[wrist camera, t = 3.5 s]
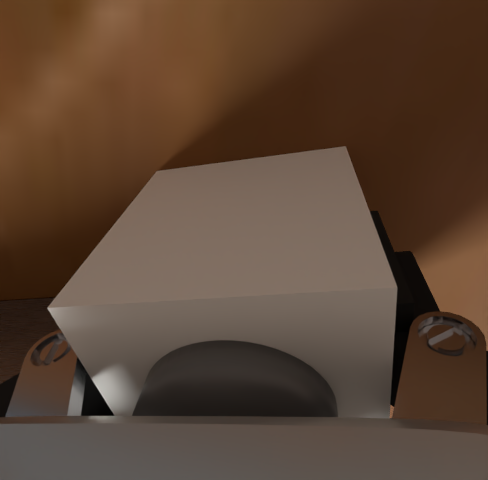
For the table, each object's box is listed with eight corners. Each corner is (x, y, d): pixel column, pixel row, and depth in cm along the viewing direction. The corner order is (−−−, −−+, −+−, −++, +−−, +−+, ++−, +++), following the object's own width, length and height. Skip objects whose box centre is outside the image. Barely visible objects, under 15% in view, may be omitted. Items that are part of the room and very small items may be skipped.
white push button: (345, 146, 11) (411, 327, 5) (349, 297, 14) (393, 521, 8) (157, 171, 12) (19, 341, 6) (200, 305, 15) (139, 507, 9)
